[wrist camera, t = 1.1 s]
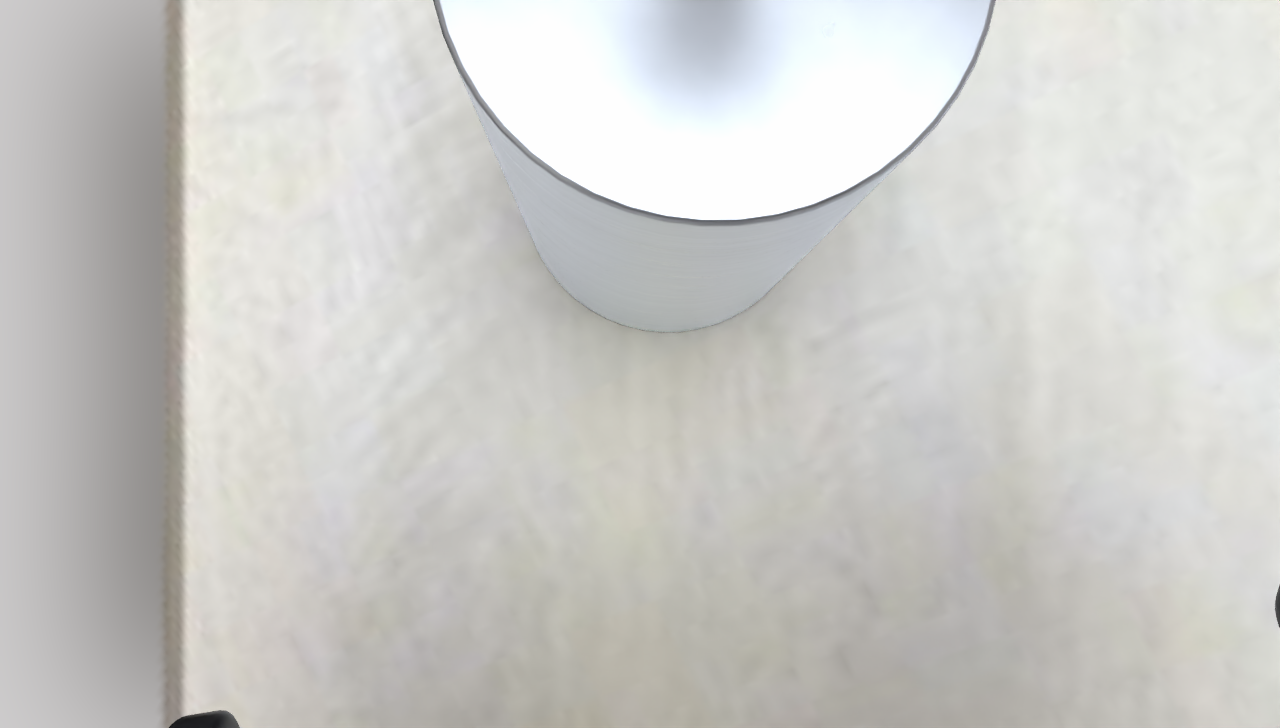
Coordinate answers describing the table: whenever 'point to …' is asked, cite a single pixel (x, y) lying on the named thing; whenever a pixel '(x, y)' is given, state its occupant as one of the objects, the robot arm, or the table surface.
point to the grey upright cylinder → (701, 132)
